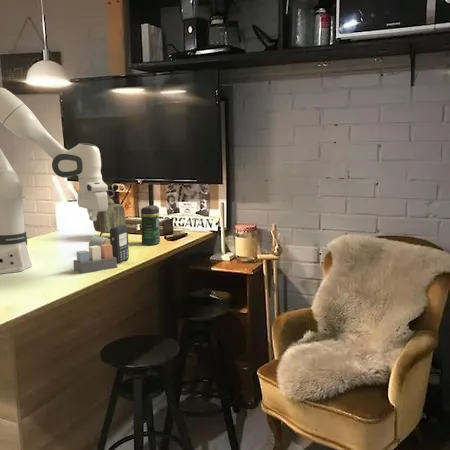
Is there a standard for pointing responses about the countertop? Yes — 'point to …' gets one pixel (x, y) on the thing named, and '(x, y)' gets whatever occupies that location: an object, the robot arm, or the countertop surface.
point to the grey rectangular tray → (95, 265)
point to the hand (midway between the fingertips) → (93, 220)
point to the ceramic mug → (98, 241)
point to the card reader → (119, 243)
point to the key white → (94, 253)
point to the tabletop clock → (109, 217)
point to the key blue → (82, 256)
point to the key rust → (106, 251)
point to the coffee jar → (150, 225)
